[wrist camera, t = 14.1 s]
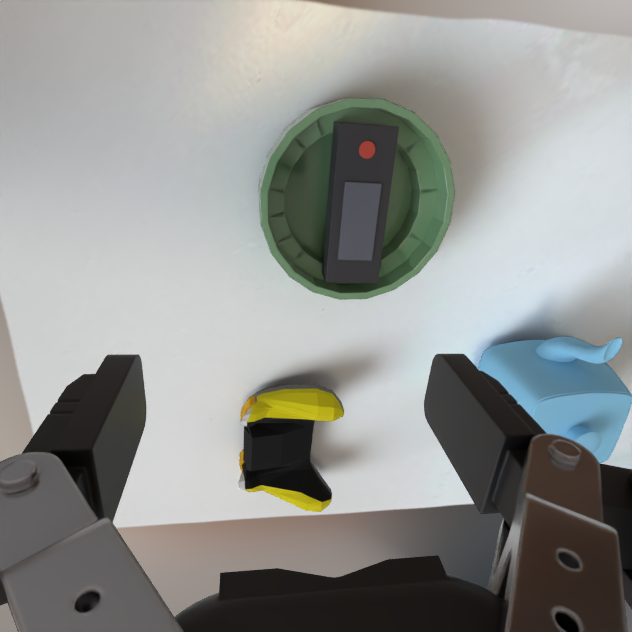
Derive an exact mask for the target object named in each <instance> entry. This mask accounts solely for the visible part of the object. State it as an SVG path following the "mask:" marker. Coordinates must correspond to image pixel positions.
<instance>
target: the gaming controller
mask: <svg viewBox="0 0 632 632" xmlns="http://www.w3.org/2000/svg"><path fill="white" fill-rule="evenodd" d="M343 416H344V409H343V406H342V403H341V401H340V400H339V398H338V397H337V396H336V395H335V393H334V392H333V391H332V390H331V389H328V388H325V387H322V386H319V385H316V384H299V385H281V386H277V387H273V388H269V389H265V390H261V391H259V392H257V393H256V394H254V395H253V396H251V397H250V398H249V399H248V400H247V402H246V403H245V405H244V406H243V408H242V410H241V422H240V424H241V425H244V449H243V450H242V452H241V453H240V463H239V465H240V469H241V471H242V474H241V477H240V480H239V482H238V483H239V488H240V489H243V490H246V491H248V492H255V491H261V490H263V491H265V492H267V493H269V494H272V495H274V496H276V497H278V498H280V499H282V500H285V501H287V502H289V503H291V504H293V505H295V506H297V507H300V508H302V509H304V510H306V511H317V512H321V511H322V510H323V509H325V508H326V507H327V506H328V505H329V504H330V502H331V499H332V493H331V489H330V488H329V486H328V485H327V483H326V482H325V481H324V479H323V478H322V477H321V475H320V474H319V472H318V471H317V469H316V468H315V466H314V465H313V463H312V462H311V460H310V452H311V443H312V434H313V425H314V421H315V420H316V421H334V420H336V419H338V418H340V417H343Z"/></svg>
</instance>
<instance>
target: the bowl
mask: <svg viewBox="0 0 632 632" xmlns="http://www.w3.org/2000/svg"><path fill="white" fill-rule="evenodd" d="M334 122H346V123H359V124H372V125H385V126H397V127H399V131H398V139H397V146H396V153H395V161H394V168H393V175H392V183H391V190H390V197H389V204H388V212H387V219H386V226H385V234H384V241H383V248H382V256H381V263H380V270H379V277H378V283H340V282H326V281H325V279H324V277H323V274H322V262H323V249H324V237H325V224H326V212H327V199H328V187H329V174H330V161H331V149H332V136H333V124H334ZM454 192H455V190H454V183H453V176H452V170H451V163H450V160H449V158H448V156H447V154H446V152H445V150H444V148H443V146H442V144H441V142H440V140H439V138H438V136H437V134H436V133H435V132H434V131H433V130H432V129H431V128H430V127H429V126H428V125H427V124H426V123H425V122H424V121H423V120H422V119H420V118H419V117H418V116H417V115H416V114H415V113H414V112H413V111H411V110H408V109H406V108H404V107H401V106H399V105H396V104H394V103H392V102H389V101H387V100H385V99H371V98H346V99H340V100H336V101H333V102H330V103H327V104H324V105H321V106H318V107H315V108H312V109H310V110H308V111H306V112H305V113H304V114H303V115H301V116H300V117H299V118H297V119H296V120H295V121H293V122H292V123H291V124H290V125H288V126H287V127H286V128H285V129H284V130H283V131H282V133H281V134H280V136H279V137H278V139H277V140H276V142H275V143H274V145H273V146H272V148H271V149H270V151H269V152H268V155H267V156H266V160H265V163H264V167H263V170H262V174H261V177H260V181H259V211H260V222H261V227H262V230H263V232H264V235H265V238H266V241H267V244H268V246H269V249H270V252H271V254H272V255H273V257H274V258H275V259H276V260H277V262H278V263H279V264H280V265H281V267H282V268H283V269H284V271H285V272H286V273H287V274H288V276H289V277H291V278H292V279H294V280H295V281H297V282H298V283H300V284H301V285H303V286H304V287H306V288H307V289H309V290H310V291H312V292H314V293H318V294H322V295H325V296H329V297H332V298H336V299H340V300H341V299H367V298H371V297H374V296H377V295H380V294H383V293H386V292H389V291H392V290H394V289H396V288H397V287H399V286H400V285H402V284H403V283H405V282H406V281H408V280H409V279H411V278H412V277H414V276H415V275H417V274H418V273H419V272H420V271H421V270H422V268H423V267H424V266H425V265H426V264H427V262H428V261H429V260H430V259H431V258H432V257H433V255H434V254H435V253H436V252H437V250H438V248H439V246H440V244H441V242H442V240H443V238H444V235H445V233H446V231H447V229H448V227H449V225H450V221H451V214H452V208H453V201H454V195H455V193H454Z"/></svg>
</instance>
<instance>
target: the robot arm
mask: <svg viewBox="0 0 632 632" xmlns="http://www.w3.org/2000/svg"><path fill="white" fill-rule="evenodd" d="M424 411H425V416H426V419H427V422H428V423H429V425H430V427H431V429H432V430H433V432H434V434H435V436H436V437H437V439H438V441H439V443H440V444H441V446H442V448H443V449H444V451H445V453H446V455H447V456H448V458H449V460H450V462H451V463H452V465H453V467H454V469H455V470H456V472H457V474H458V476H459V477H460V479H461V481H462V482H463V484H464V486H465V488H466V489H467V491H468V493H469V495H470V496H471V498H472V500H473V502H474V503H475V505H476V507H477V508H478V510H479V512H480V513H481V514H488V513H501V515H502V516H503V518H504V519H503V522H502V525H501V527H500V531H499V537H498V541H497V546H496V551H495V556H494V560H493V566H492V570H491V575H490V580H489V585H488V589H485V588H483V587H481V586H479V585H477V584H475V583H472V582H470V581H468V580H465V579H462V578H459V577H455V576H452V575H447V574H446V572H445V570H444V568H443V565H442V563H441V561H440V558H439V556H426V557H414V558H401V559H389V560H385V561H383V562H380V563H378V564H374V565H372V566H369V567H366V568H363V569H361V570H358V571H355V572H352V573H350V574H347V575H344V576H341V577H336V578H332V577H325V576H319V575H313V574H307V573H302V572H296V571H290V570H283V569H277V568H276V569H264V570H252V571H239V572H226V573H221V574H220V590H219V593H217V594H214V595H212V596H208V597H206V598H204V599H202V600H200V601H198V602H196V603H194V604H193V605H191V606H190V607H188V608H186V609H185V610H183V611H182V612H180V613H179V614H178V615H176V616H175V617H174V616H173V615H172V613H171V611H170V610H169V608H168V607H167V605H166V604H165V602H164V601H163V599H162V598H161V596H160V595H159V593H158V591H157V590H156V589H155V587H154V585H153V584H152V582H151V581H150V579H149V578H148V576H147V575H146V573H145V572H144V570H143V569H142V567H141V566H140V564H139V563H138V561H137V560H136V558H135V556H134V555H133V553H132V552H131V551H130V549H129V548H128V546H127V544H126V543H125V541H124V540H123V538H122V537H121V535H120V534H119V532H118V530H117V529H116V527H115V526H114V524H113V523H112V522H113V519H114V516H115V513H116V510H117V508H118V505H119V502H120V499H121V496H122V493H123V490H124V487H125V484H126V481H127V478H128V475H129V472H130V469H131V466H132V463H133V460H134V457H135V454H136V451H137V448H138V445H139V442H140V439H141V436H142V433H143V430H144V427H145V421H146V399H145V390H144V380H143V371H142V362H141V358H140V356H139V355H107V356H106V357H105V359H104V361H103V362H102V364H101V366H100V367H99V369H98V371H97V372H96V374H84V375H82V376H81V377H79V378H78V379H77V380H75V381H74V382H72V383H71V384H69V385H68V386H67V387H66V389H65V390H64V392H63V393H62V394H61V396H60V397H59V399H58V403H55V405H54V406H53V408H52V409H51V411H50V414H48V415H47V417H46V418H45V420H44V421H43V423H42V424H41V426H40V427H39V429H38V430H37V432H36V433H35V435H34V436H33V438H32V439H31V441H30V442H29V444H28V445H27V447H26V448H25V449H24V451H23V453H22V454H19V455H16V456H13V457H10V458H8V459H5V460H3V461H1V462H0V605H3V604H5V603H8V605H9V608H10V610H11V614H12V616H13V619H14V622H15V625H16V628H17V630H18V632H628V629H627V618H626V608H625V600H626V602H627V603H628V604H629V606H630V607H631V609H632V470H631V469H626V468H621V467H615V466H610V465H605V464H600V463H599V462H598V460H597V458H596V457H595V456H594V455H593V454H592V452H590V451H589V450H588V449H587V448H585V447H584V446H583V445H581V444H579V443H577V442H576V441H573V440H571V439H569V438H566V437H563V436H560V435H555V434H547V433H546V432H545V431H544V430H543V429H542V428H541V426H540V425H539V424H538V423H537V422H536V421H535V420H534V419H533V418H532V417H531V416H530V415H529V414H528V412H527V411H526V410H525V409H524V408H523V407H522V406H521V405H520V404H517V401H516V400H515V398H514V397H513V396H512V395H511V394H509V392H508V391H507V390H506V389H505V388H504V387H503V386H502V384H501V383H500V382H499V381H498V380H496V379H495V378H493V377H491V376H490V375H488V374H486V373H485V372H483V371H479V370H478V369H477V368H476V367H475V365H474V364H473V363H472V362H471V361H470V360H469V359H468V358H467V356H465V355H464V354H437V355H435V357H434V359H433V362H432V366H431V371H430V376H429V380H428V385H427V390H426V395H425V400H424Z"/></svg>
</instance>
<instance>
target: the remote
mask: <svg viewBox="0 0 632 632" xmlns="http://www.w3.org/2000/svg"><path fill="white" fill-rule="evenodd" d="M398 131H399V127H397V126H385V125H372V124H359V123H346V122H334V124H333V136H332V149H331V161H330V174H329V187H328V199H327V212H326V224H325V237H324V249H323V262H322V274H323V277H324V279H325V281H326V282H340V283H378V277H379V270H380V263H381V256H382V248H383V241H384V234H385V226H386V219H387V212H388V204H389V197H390V190H391V183H392V175H393V168H394V161H395V153H396V146H397V139H398Z"/></svg>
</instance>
